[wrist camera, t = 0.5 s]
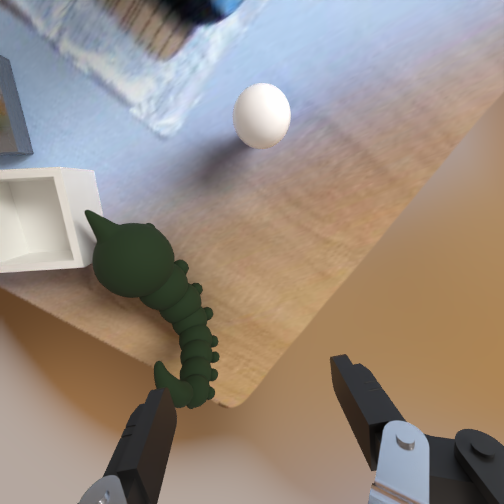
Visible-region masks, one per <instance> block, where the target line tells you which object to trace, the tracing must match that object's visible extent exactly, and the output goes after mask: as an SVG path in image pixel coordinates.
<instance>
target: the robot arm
mask: <svg viewBox="0 0 504 504" xmlns="http://www.w3.org/2000/svg"><path fill="white" fill-rule="evenodd" d="M330 363H331V374H332V382H333V387H334V391H335V394H336V396H337V398H338V401H339V403H340V405H341V407H342V409H343V411H344V414H345V416H346V418H347V420H348V422H349V424H350V426H351V429H352V431H353V433H354V435H355V437H356V439H357V441H358V444H359V445H360V448H361V450H362V452H363V454H364V456H365V458H366V461H367V463H368V465H369V467H370V469H371V471H376V470H377V472H376V478H375V482H374V484H372V486H371V490H370V496H369V501H368V504H504V446H503V445H502V444H501V443H500V442H498V441H497V440H496V439H494V438H493V437H491V436H489V435H487V434H485V433H483V432H481V431H478V430H473V429H463V430H460V431H459V432H458V433H457V434H456V436H455V439H448V438H441V437H434V436H429V435H426V434H423V433H422V432H421V431H420V430H419V429H418V428H417V427H415V426H414V425H412V424H410V423H408V422H406V421H405V419H404V418H403V417H402V415H401V414H400V412H399V411H398V409H397V408H396V407H395V405H394V404H393V402H392V401H391V400H390V398H389V397H388V395H387V394H386V393H385V391H384V390H383V389H382V387H381V385H380V384H379V383H378V382H377V380H376V378H375V377H374V376H373V374H372V373H371V371H370V370H369V369H367V368H366V367H364V366H363V365H362V364H360V363H359V364H354V365H353V364H352V363H351V361H350V359H349V358H348V356H347V355H346V354H344V355H338V356H333V357H330ZM176 424H177V415H176V410H175V407H174V403H173V400H172V397H171V394H170V391H169V389H168V388H167V387H165V388H160V389H155V390H151V391H150V392H149V394H148V397H147V399H146V402H145V404H140V405H139V406H138V407H137V408H136V410H135V411H134V412H133V413H132V414H131V416H130V418H129V420H128V423H127V425H126V429H124V431H123V434H122V436H121V439H120V440H119V442H118V445H117V447H116V449H115V451H114V454H113V456H112V458H111V460H110V462H109V465H108V467H107V469H106V471H105V473H104V475H103V477H102V478H101V479H99V480H98V481H96V482H95V483H94V484H93V485H92V486H91V487H90V488H89V489H88V490H87V491H86V492H85V494H84V495H83V496H82V498H81V500H80V502H79V503H78V504H157V502H158V498H159V494H160V490H161V486H162V482H163V478H164V474H165V469H166V465H167V461H168V457H169V453H170V449H171V445H172V441H173V437H174V433H175V429H176Z"/></svg>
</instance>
